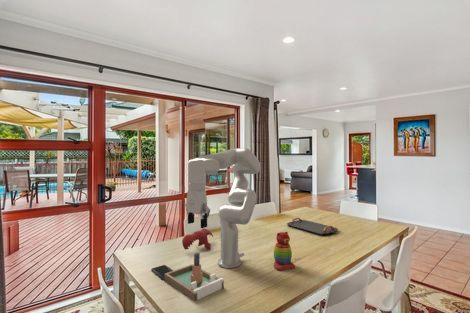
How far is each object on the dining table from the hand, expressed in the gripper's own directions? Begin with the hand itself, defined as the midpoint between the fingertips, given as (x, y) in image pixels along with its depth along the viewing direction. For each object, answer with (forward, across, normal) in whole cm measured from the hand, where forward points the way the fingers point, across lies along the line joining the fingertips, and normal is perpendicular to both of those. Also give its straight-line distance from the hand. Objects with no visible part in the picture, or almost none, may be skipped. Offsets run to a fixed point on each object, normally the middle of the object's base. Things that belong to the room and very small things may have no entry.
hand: (197, 225), depth 116 cm
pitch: (+27, -3, -1) cm, 27 cm away
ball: (+25, +6, -1) cm, 26 cm away
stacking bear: (+28, +15, +44) cm, 54 cm away
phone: (+28, -21, -5) cm, 35 cm away
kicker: (+26, 0, -1) cm, 26 cm away
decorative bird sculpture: (+28, -36, +29) cm, 54 cm away
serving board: (+29, -11, +119) cm, 123 cm away
